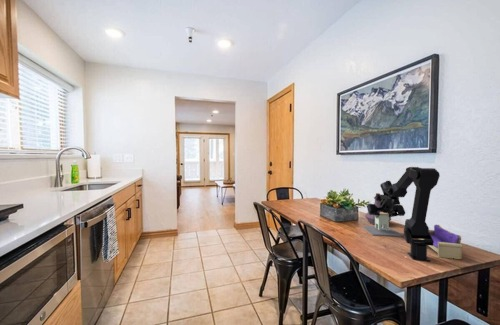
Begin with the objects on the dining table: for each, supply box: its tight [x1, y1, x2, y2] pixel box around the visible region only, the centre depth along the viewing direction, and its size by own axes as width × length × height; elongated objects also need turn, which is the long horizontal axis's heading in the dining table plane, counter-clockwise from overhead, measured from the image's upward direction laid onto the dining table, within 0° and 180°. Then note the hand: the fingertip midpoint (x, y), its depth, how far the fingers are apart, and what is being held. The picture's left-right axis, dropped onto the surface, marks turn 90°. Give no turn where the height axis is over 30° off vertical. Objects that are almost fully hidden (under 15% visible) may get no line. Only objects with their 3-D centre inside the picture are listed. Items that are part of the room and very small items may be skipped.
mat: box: [362, 225, 405, 238], centre depth 132 cm, size 16×16×1 cm
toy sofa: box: [417, 224, 463, 260], centre depth 106 cm, size 21×9×10 cm, turn 164°
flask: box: [364, 192, 392, 225], centre depth 150 cm, size 16×16×20 cm
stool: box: [374, 212, 390, 231], centre depth 132 cm, size 5×5×10 cm
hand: (380, 217), depth 133 cm, fingers closed on stool, 5 cm apart
